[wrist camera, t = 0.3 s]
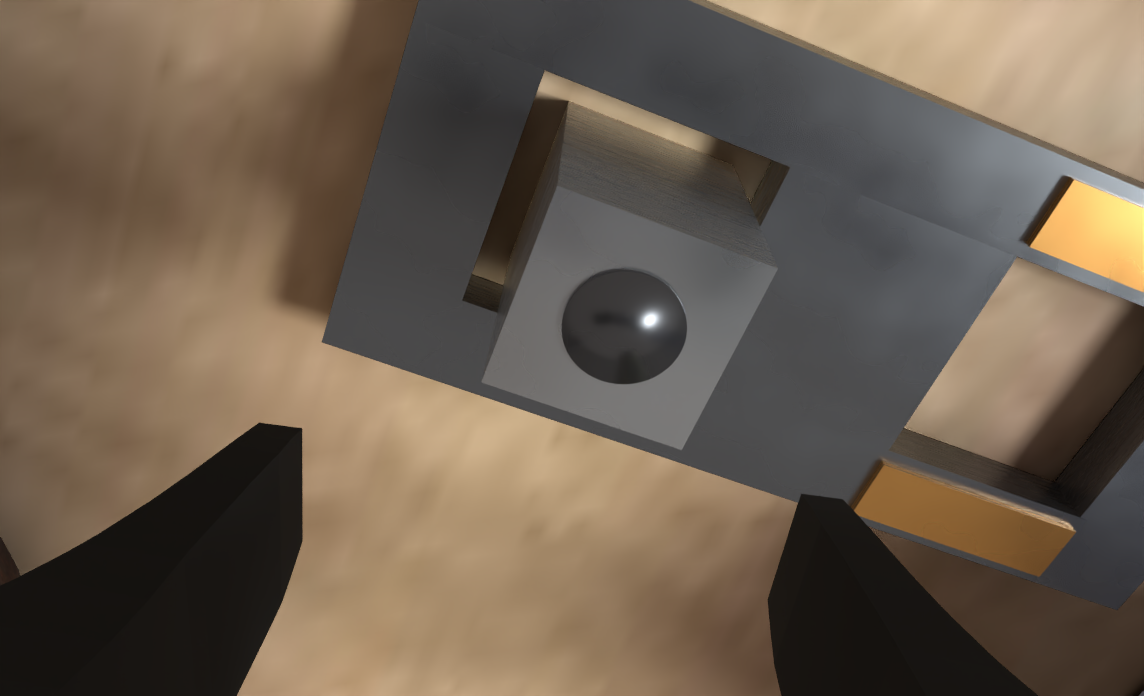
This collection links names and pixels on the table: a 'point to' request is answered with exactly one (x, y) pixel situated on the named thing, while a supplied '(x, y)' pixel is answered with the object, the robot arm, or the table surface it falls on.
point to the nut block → (628, 280)
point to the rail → (801, 252)
